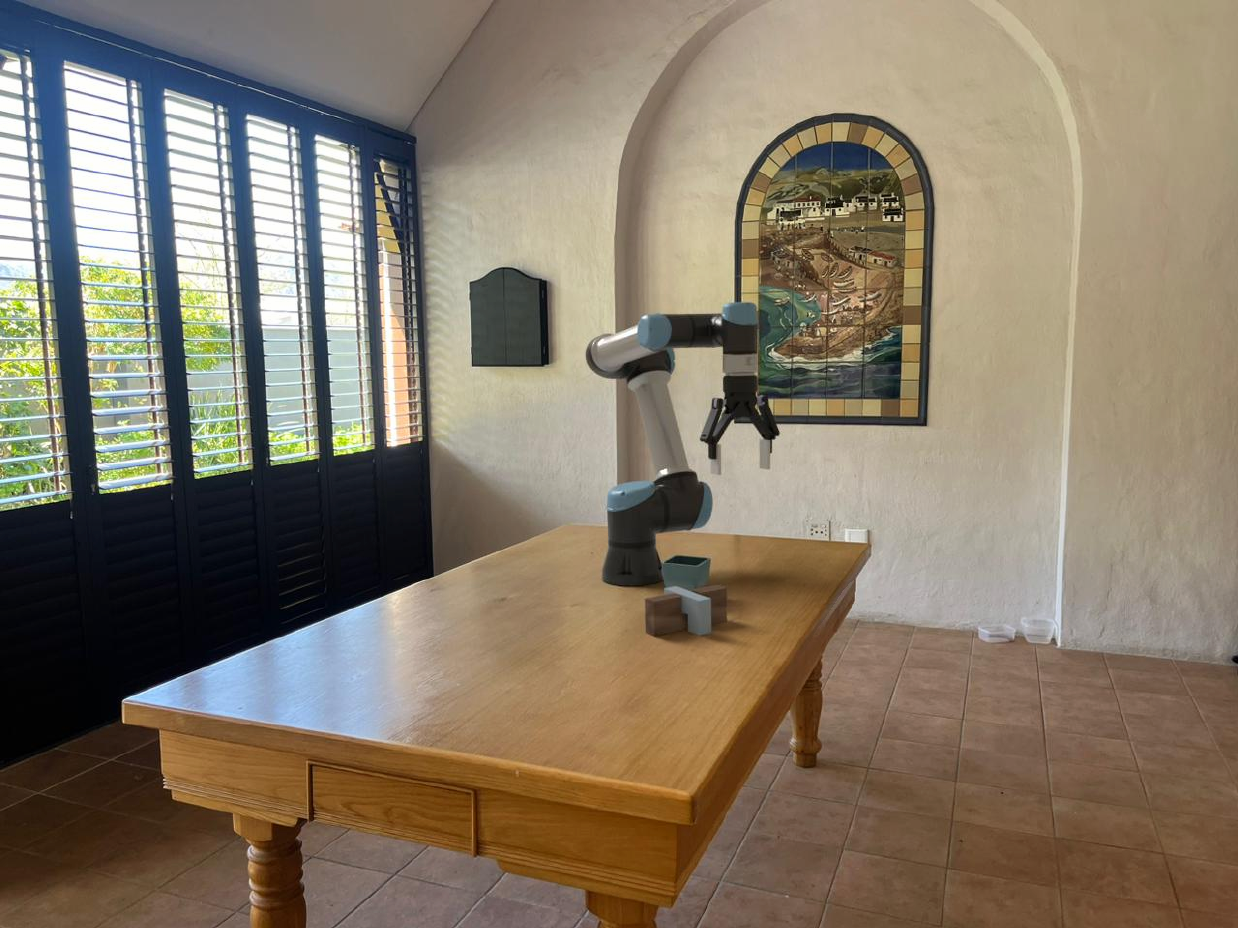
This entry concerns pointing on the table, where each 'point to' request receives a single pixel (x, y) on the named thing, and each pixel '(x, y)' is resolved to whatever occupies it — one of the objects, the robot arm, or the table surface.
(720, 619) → the walnut notched block
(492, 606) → the table surface
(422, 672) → the table surface
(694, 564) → the flower pot
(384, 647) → the table surface
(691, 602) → the light blue notched brick
